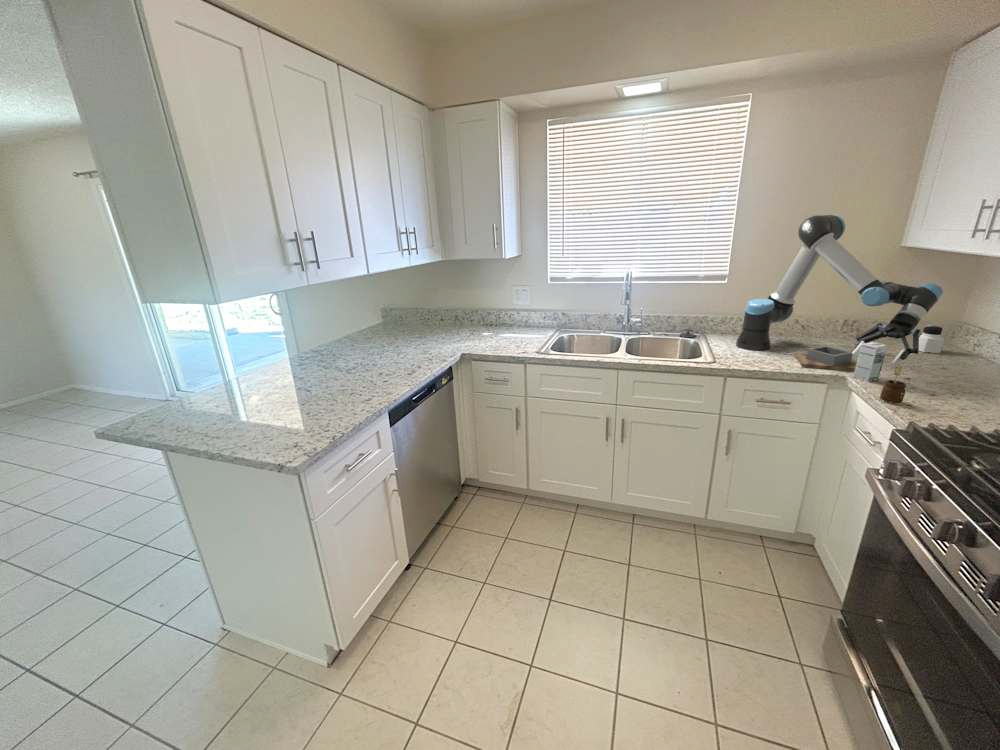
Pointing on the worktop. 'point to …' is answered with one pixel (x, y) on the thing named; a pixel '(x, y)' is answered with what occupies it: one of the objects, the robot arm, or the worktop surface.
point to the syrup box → (870, 361)
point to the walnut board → (814, 364)
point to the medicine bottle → (931, 339)
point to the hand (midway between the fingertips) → (872, 360)
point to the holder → (829, 355)
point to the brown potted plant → (894, 389)
